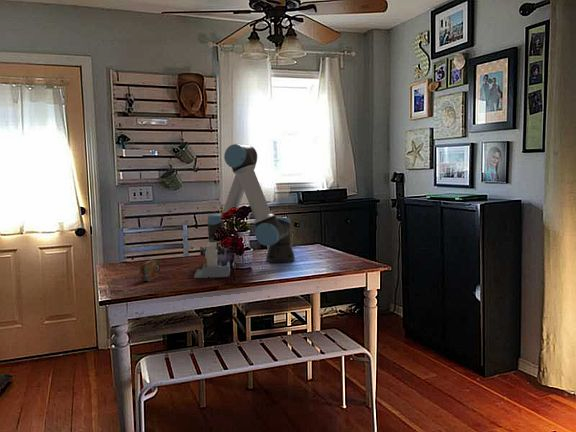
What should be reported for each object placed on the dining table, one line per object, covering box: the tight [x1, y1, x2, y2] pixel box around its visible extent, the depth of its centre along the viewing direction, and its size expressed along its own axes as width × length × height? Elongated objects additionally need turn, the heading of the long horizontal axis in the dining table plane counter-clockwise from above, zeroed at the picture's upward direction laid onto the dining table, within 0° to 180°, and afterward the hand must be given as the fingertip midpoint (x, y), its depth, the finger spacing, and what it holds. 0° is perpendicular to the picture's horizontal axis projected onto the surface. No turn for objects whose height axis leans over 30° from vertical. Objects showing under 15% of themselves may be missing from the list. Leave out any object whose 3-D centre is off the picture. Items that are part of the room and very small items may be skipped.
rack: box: [193, 261, 231, 279], centre depth 234 cm, size 16×16×5 cm
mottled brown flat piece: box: [139, 259, 161, 282], centre depth 226 cm, size 15×3×8 cm, turn 168°
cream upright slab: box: [205, 241, 219, 267], centre depth 234 cm, size 4×12×12 cm, turn 4°
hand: (211, 255), depth 228 cm, fingers closed on cream upright slab, 4 cm apart
